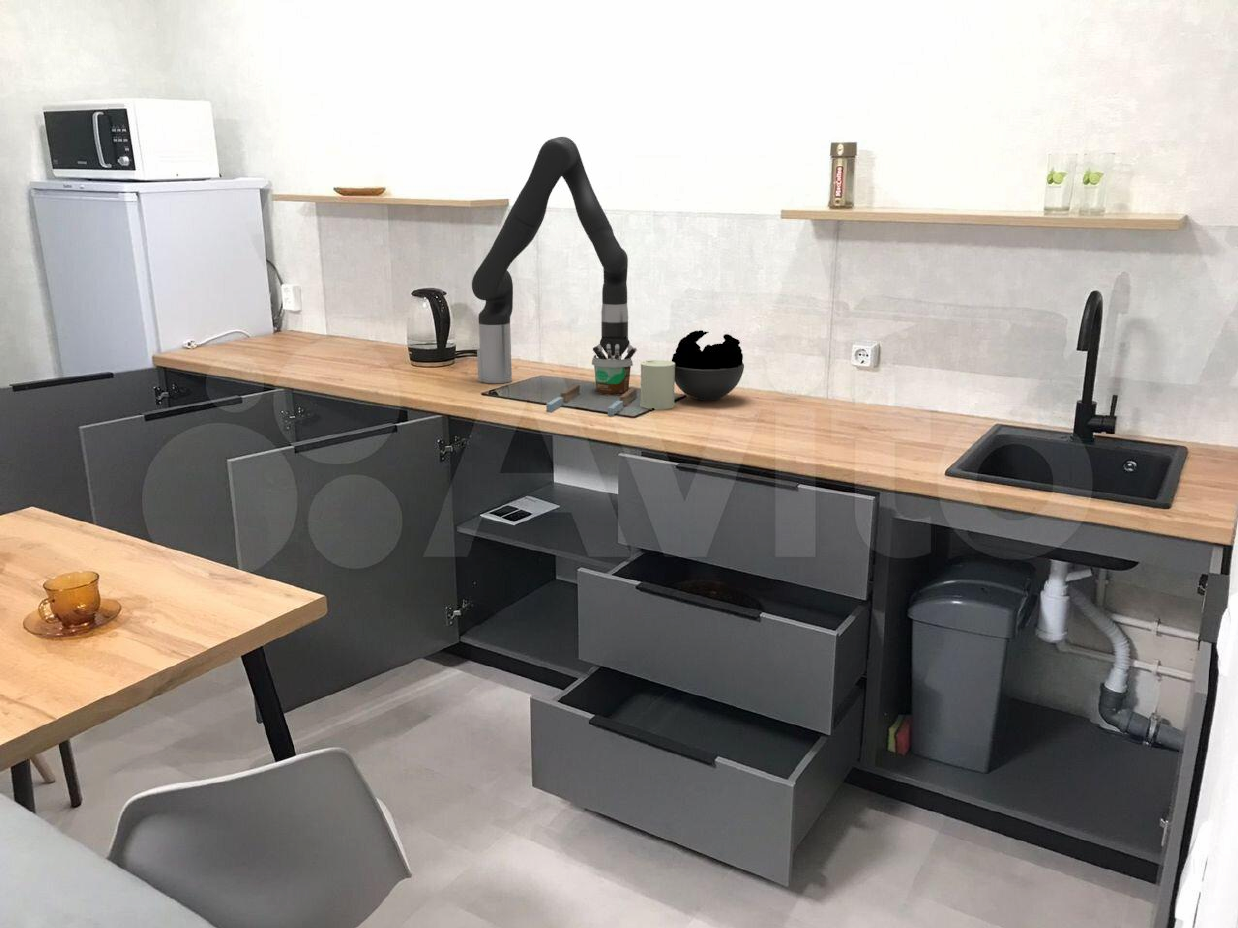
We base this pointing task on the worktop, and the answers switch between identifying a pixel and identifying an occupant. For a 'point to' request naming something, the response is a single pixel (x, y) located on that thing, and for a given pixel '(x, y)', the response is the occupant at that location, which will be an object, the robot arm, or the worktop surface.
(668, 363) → the can
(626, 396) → the walnut channel
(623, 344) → the robot arm
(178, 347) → the worktop surface
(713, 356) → the coal bowl
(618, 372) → the food container
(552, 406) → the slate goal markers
